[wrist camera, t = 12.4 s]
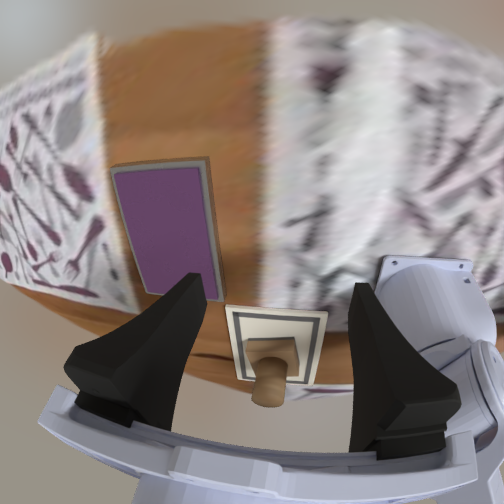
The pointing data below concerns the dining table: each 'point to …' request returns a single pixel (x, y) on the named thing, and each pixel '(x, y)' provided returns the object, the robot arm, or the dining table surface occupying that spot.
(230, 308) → the marked card
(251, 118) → the dining table surface
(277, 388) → the stamp
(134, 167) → the ink pad
